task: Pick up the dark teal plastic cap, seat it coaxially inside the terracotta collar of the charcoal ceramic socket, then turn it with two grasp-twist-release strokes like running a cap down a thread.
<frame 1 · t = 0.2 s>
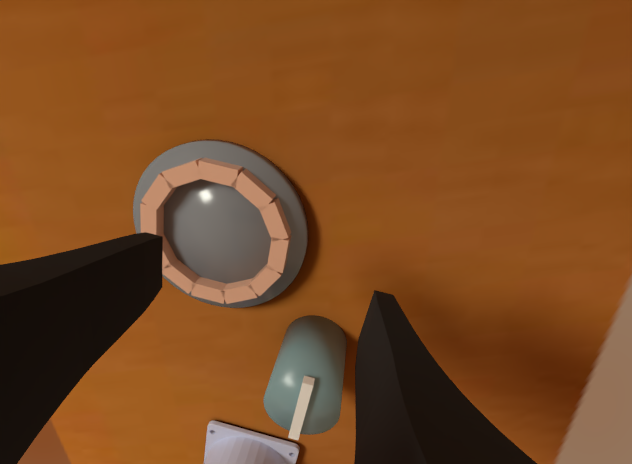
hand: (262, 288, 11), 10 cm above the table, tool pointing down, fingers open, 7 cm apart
socket: (222, 228, 22), on the table
cap: (315, 340, 25), on the table
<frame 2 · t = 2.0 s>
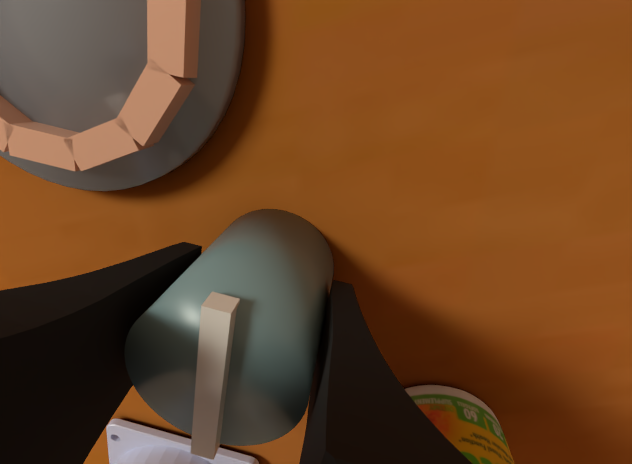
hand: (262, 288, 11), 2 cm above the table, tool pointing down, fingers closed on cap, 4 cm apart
socket: (68, 6, 10), on the table
cap: (275, 264, 13), on the table, touching gripper
supplement bottle: (431, 422, 15), on the table
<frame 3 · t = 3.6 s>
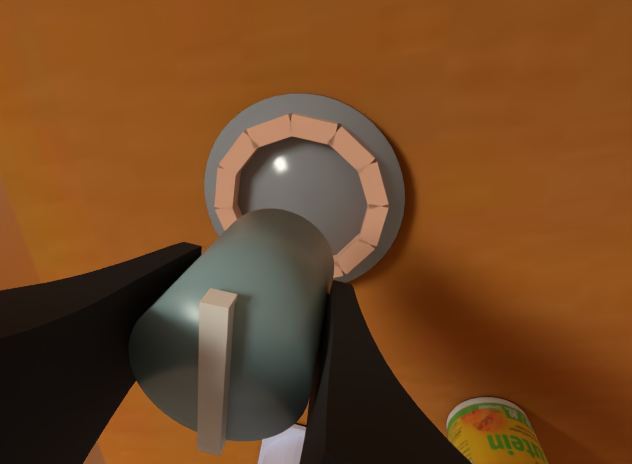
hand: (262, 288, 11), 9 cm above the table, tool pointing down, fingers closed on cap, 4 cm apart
socket: (303, 198, 19), on the table
cap: (276, 263, 13), point 7 cm above the table, touching gripper
supplement bottle: (484, 419, 24), on the table
when the fingers open (3 cm above the table, at t = 5.2 s): cap stays where it is, resting on socket.
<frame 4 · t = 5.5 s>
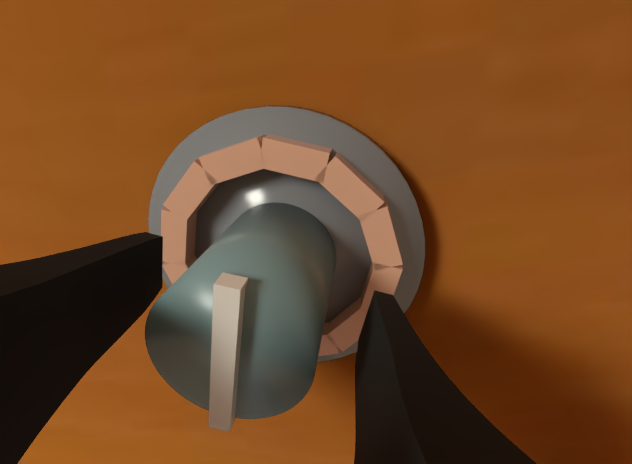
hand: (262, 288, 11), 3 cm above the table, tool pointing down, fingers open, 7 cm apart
socket: (284, 246, 14), on the table
cap: (280, 255, 14), point 1 cm above the table, touching socket
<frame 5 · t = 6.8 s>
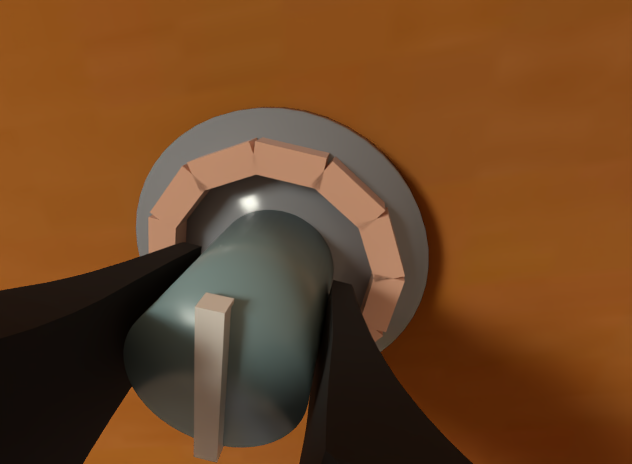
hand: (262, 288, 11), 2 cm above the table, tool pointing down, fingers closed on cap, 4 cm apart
socket: (280, 255, 14), on the table
cap: (274, 265, 13), point 1 cm above the table, touching gripper
when the fingers open (2 cm above the table, at t = 8.1 s): cap stays where it is, resting on socket.
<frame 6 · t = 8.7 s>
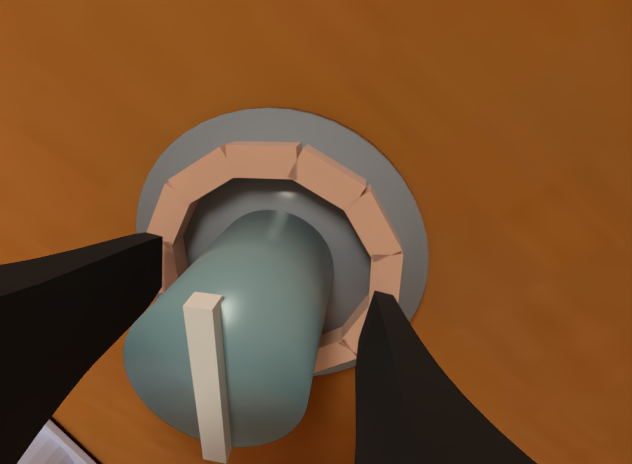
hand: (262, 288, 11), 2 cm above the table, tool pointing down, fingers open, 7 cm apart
socket: (280, 255, 14), on the table
cap: (274, 265, 13), point 1 cm above the table, touching socket
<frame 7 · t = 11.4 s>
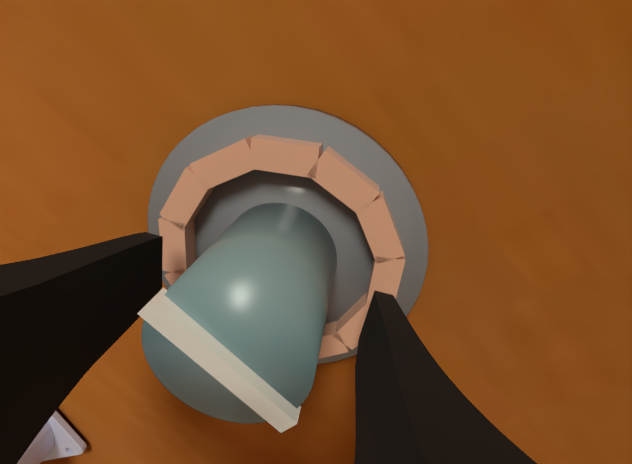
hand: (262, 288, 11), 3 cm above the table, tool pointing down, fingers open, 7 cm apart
socket: (285, 247, 14), on the table
cap: (280, 256, 13), point 1 cm above the table, touching socket
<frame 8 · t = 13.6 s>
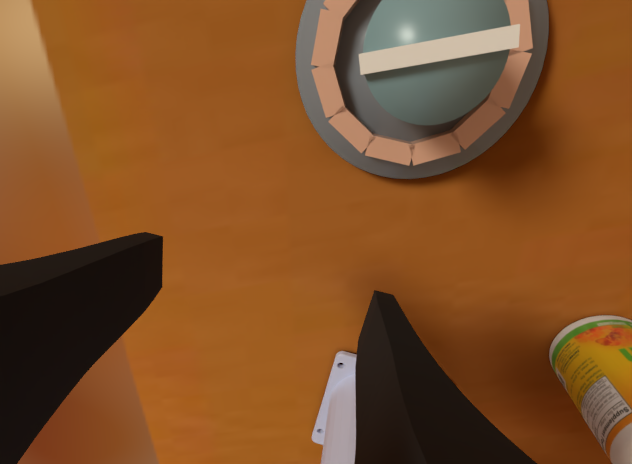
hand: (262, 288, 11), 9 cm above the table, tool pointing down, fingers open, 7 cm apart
socket: (412, 61, 16), on the table
cap: (414, 60, 16), point 1 cm above the table, touching socket
supplement bottle: (593, 346, 21), on the table
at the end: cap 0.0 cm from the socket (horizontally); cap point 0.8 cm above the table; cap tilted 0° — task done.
